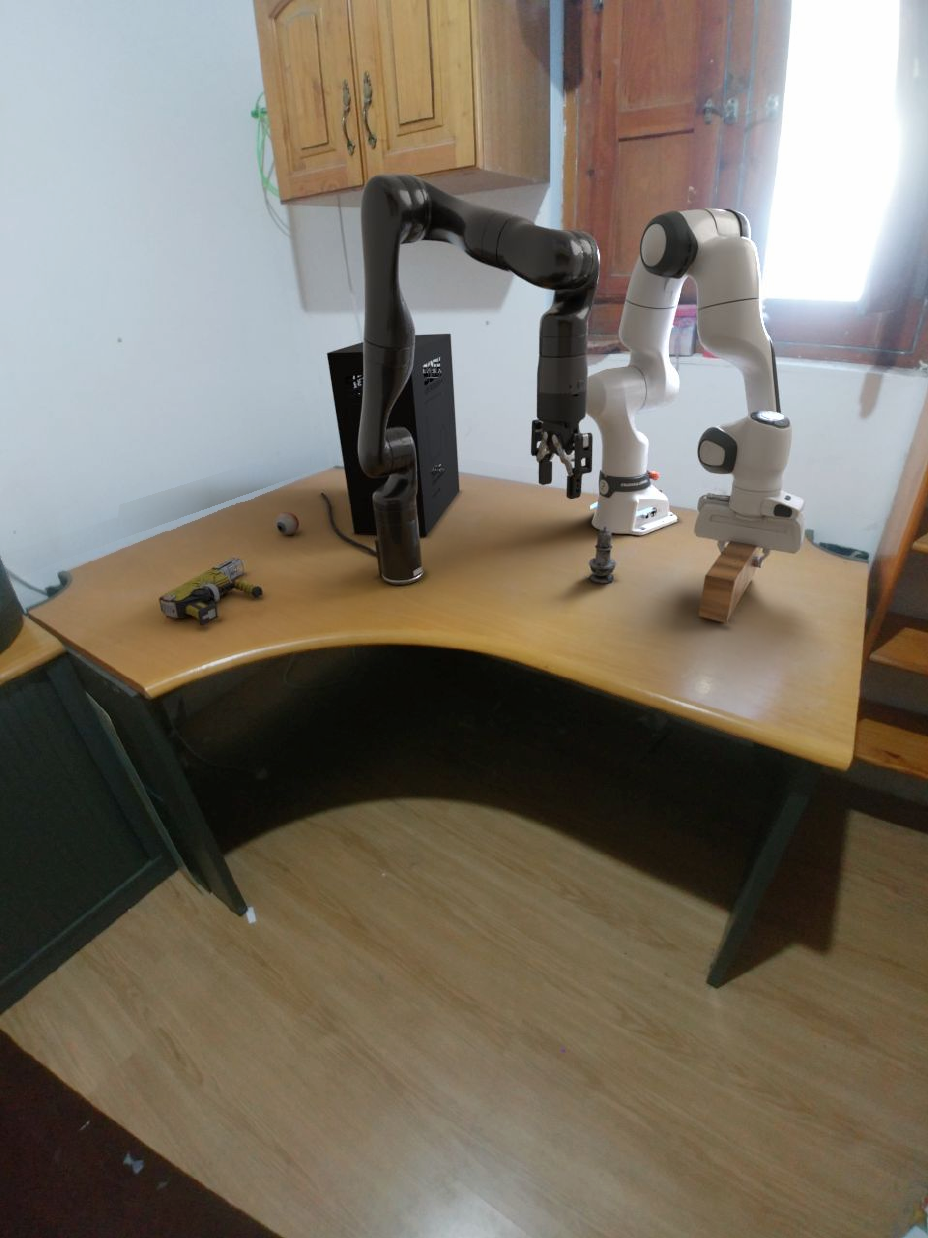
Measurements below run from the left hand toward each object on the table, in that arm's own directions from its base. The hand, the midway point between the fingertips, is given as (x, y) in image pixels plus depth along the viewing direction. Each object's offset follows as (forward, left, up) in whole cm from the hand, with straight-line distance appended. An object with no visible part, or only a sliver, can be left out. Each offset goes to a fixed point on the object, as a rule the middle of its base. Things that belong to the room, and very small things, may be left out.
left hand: (558, 490), depth 99 cm
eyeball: (-87, +10, -28) cm, 92 cm away
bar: (+23, +30, -27) cm, 46 cm away
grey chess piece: (-2, +26, -28) cm, 38 cm away
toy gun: (-69, -23, -28) cm, 78 cm away
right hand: (+23, +38, -23) cm, 50 cm away
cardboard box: (-68, +40, -28) cm, 84 cm away
